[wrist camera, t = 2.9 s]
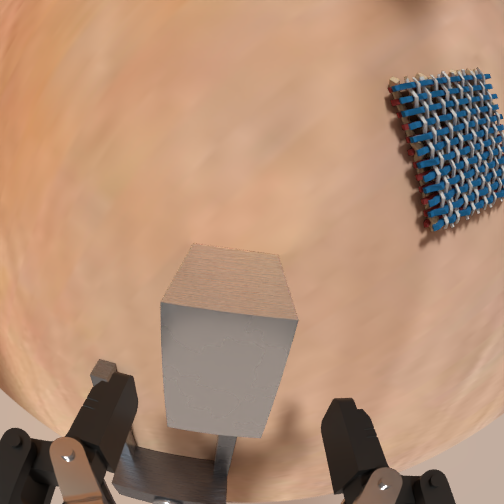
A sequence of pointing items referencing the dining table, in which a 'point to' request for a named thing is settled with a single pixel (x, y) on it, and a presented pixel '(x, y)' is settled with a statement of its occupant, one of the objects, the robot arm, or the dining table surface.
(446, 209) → the woven mat
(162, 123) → the dining table surface
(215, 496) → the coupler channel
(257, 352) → the block
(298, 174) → the dining table surface
